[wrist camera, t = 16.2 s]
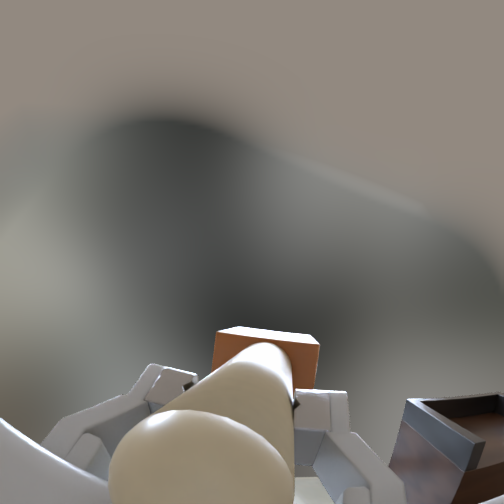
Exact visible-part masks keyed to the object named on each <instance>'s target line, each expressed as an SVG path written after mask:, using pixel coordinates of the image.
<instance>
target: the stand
mask: <svg viewBox="0 0 504 504" xmlns="http://www.w3.org/2000/svg"><path fill="white" fill-rule="evenodd" d="M388 467H389V468H390V469H391V470H392V471H393V472H394V473H395V474H396V475H397V476H398V477H399V478H400V479H401V480H402V481H403V482H404V486H405V493H406V500H407V504H479V503H482V502H485V501H488V500H491V499H494V498H496V497H499V496H501V495H504V393H501V392H494V393H487V394H477V395H469V396H457V397H444V398H425V399H424V398H423V399H407V400H406V404H405V409H404V414H403V417H402V421H401V426H400V429H399V433H398V436H397V440H396V444H395V447H394V450H393V454H392V457H391V460H390V463H389V466H388Z"/></svg>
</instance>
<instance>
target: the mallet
mask: <svg viewBox="0 0 504 504" xmlns="http://www.w3.org/2000/svg"><path fill="white" fill-rule="evenodd" d="M319 348H320V344H318V342H317V341H315V339H314V338H313V337H312V336H311V335H305V334H296V333H286V332H277V331H269V330H261V329H253V328H245V327H235V328H230V329H226V330H222V331H217V332H216V339H215V347H214V355H213V363H212V371H211V374H210V375H208V376H207V377H205V378H204V379H203V380H201V381H200V382H198V383H197V384H196V385H194V386H193V387H191V388H190V389H188V390H187V391H185V392H184V393H183V394H181V395H180V396H178V397H177V398H175V399H174V400H172V401H171V402H169V403H168V404H166V405H165V406H163V407H162V408H160V409H159V410H157V411H156V412H154V413H153V414H151V415H150V416H148V417H146V418H145V419H143V420H142V421H141V422H139V423H138V424H136V425H135V426H134V427H133V428H132V429H131V430H130V431H129V432H128V433H127V434H126V435H125V436H124V437H123V438H122V440H121V441H120V443H119V444H118V446H117V448H116V450H115V452H114V454H113V456H112V459H111V462H110V465H109V476H108V489H109V494H110V499H111V502H112V504H293V501H294V491H295V490H294V426H293V399H294V393H295V389H308V390H313V387H314V382H315V375H316V369H317V362H318V355H319Z"/></svg>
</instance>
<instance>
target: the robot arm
mask: <svg viewBox="0 0 504 504" xmlns="http://www.w3.org/2000/svg"><path fill="white" fill-rule="evenodd" d="M198 382H199V381H198V375H197V374H195V373H190V372H186V371H182V370H178V369H174V368H170V367H164V366H161V365H157V364H154V363H151V364H150V365H148V366H147V368H146V369H145V370H144V372H143V373H142V375H141V376H140V377H139V379H138V380H137V382H136V383H135V385H134V386H133V387H132V389H131V390H130V392H129V393H128V395H125V394H122V395H119V396H117V397H114V398H112V399H110V400H107V401H105V402H102V403H100V404H97V405H95V406H92V407H90V408H87V409H85V410H82V411H80V412H77V413H74V414H72V415H69V416H66V417H64V418H61V419H60V421H59V422H58V423H57V424H56V425H55V427H54V428H53V429H52V430H51V432H50V433H49V434H48V435H47V436H46V438H45V439H44V440H43V442H42V443H41V444H40V445H39V444H37V443H35V442H34V441H33V440H31V439H29V438H28V437H27V436H25V435H23V434H22V433H21V432H19V431H18V430H16V429H15V428H14V427H12V426H11V425H10V424H8V423H7V422H5V421H4V420H3V419H2V418H0V504H112V502H111V499H110V494H109V489H108V476H109V465H110V462H111V459H112V456H113V454H114V452H115V450H116V448H117V446H118V444H119V443H120V441H121V440H122V438H123V437H124V436H125V435H126V434H127V433H128V432H129V431H130V430H131V429H132V428H133V427H134V426H135V425H136V424H138V423H139V422H141V421H142V420H143V419H145V418H146V417H148V416H150V415H151V414H153V413H154V412H156V411H157V410H159V409H160V408H162V407H163V406H165V405H166V404H168V403H169V402H171V401H172V400H174V399H175V398H177V397H178V396H180V395H181V394H183V393H184V392H185V391H187V390H188V389H190V388H191V387H193V386H194V385H196V384H197V383H198ZM293 426H294V464H295V465H305V466H312V468H313V469H314V471H315V473H316V474H317V476H318V478H319V479H320V481H321V483H322V484H323V486H324V487H325V489H326V490H327V492H328V494H329V495H330V497H331V498H332V500H333V501H334V503H335V504H407V500H406V493H405V486H404V482H403V481H402V480H401V479H400V478H399V477H398V476H397V475H396V474H395V473H394V472H393V471H392V470H391V469H390V468H389V467H388V466H387V465H386V464H385V463H384V462H383V461H382V460H381V459H380V458H379V456H377V454H376V453H375V452H374V451H373V450H372V449H371V448H370V447H369V446H368V445H367V444H366V443H365V442H364V441H363V440H362V439H361V438H360V437H359V435H358V434H357V433H352V432H351V427H350V416H349V406H348V398H347V393H346V392H345V391H323V390H308V389H295V393H294V399H293ZM479 504H504V495H501V496H499V497H496V498H494V499H491V500H488V501H485V502H482V503H479Z"/></svg>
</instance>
